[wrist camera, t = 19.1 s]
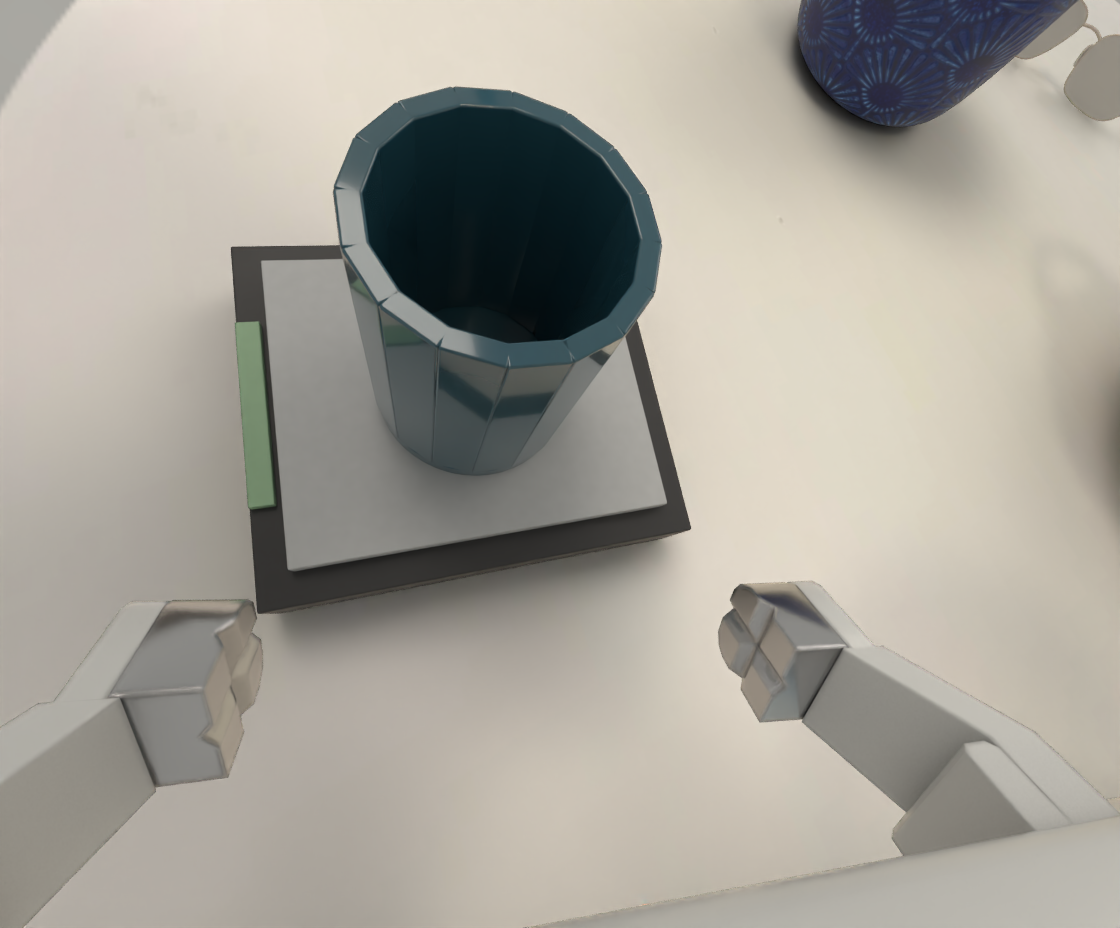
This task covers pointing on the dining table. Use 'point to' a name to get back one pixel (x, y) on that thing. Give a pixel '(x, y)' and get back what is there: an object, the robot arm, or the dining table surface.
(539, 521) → the scale
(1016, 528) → the dining table surface
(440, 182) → the cup
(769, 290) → the dining table surface
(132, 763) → the robot arm
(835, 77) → the planter
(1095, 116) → the eyeglasses
